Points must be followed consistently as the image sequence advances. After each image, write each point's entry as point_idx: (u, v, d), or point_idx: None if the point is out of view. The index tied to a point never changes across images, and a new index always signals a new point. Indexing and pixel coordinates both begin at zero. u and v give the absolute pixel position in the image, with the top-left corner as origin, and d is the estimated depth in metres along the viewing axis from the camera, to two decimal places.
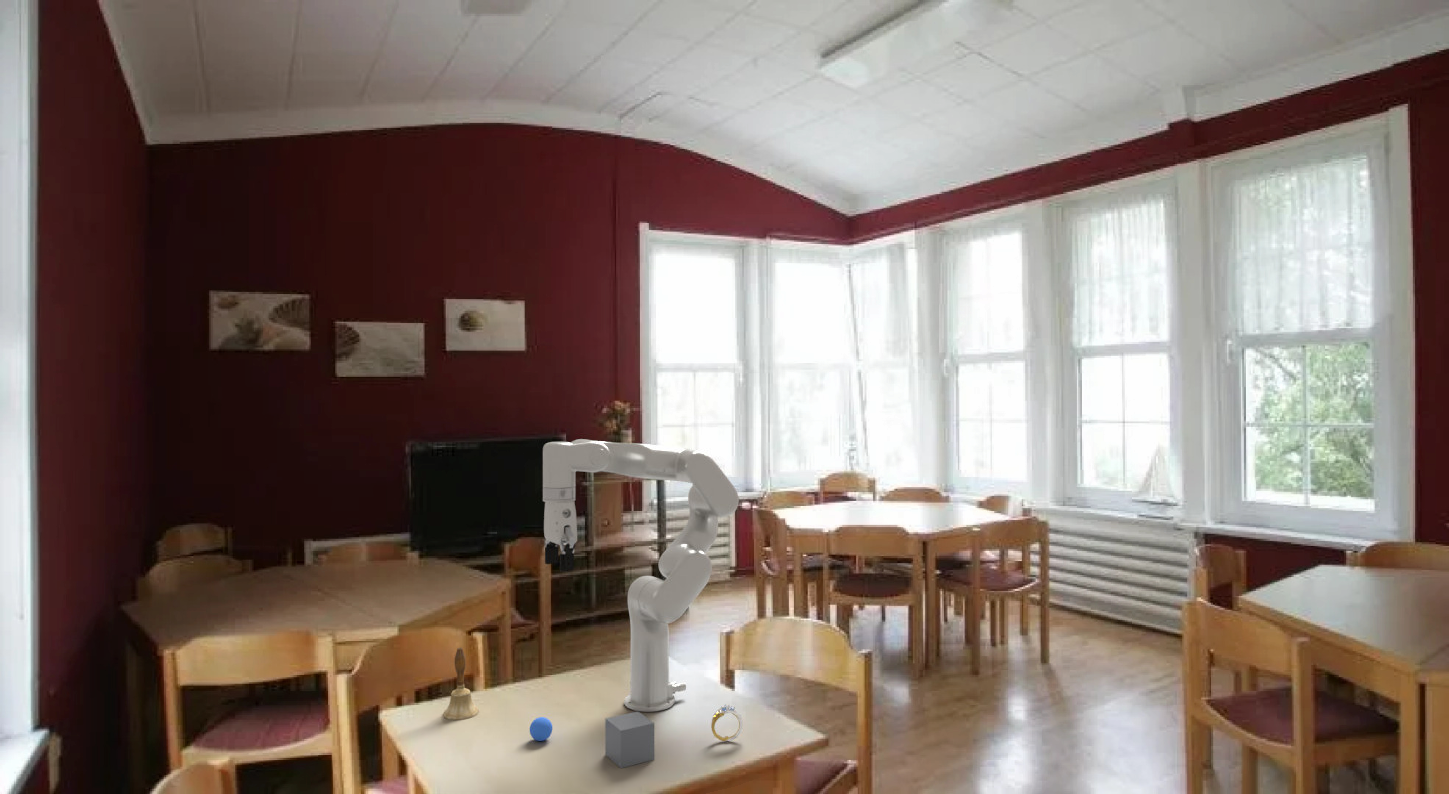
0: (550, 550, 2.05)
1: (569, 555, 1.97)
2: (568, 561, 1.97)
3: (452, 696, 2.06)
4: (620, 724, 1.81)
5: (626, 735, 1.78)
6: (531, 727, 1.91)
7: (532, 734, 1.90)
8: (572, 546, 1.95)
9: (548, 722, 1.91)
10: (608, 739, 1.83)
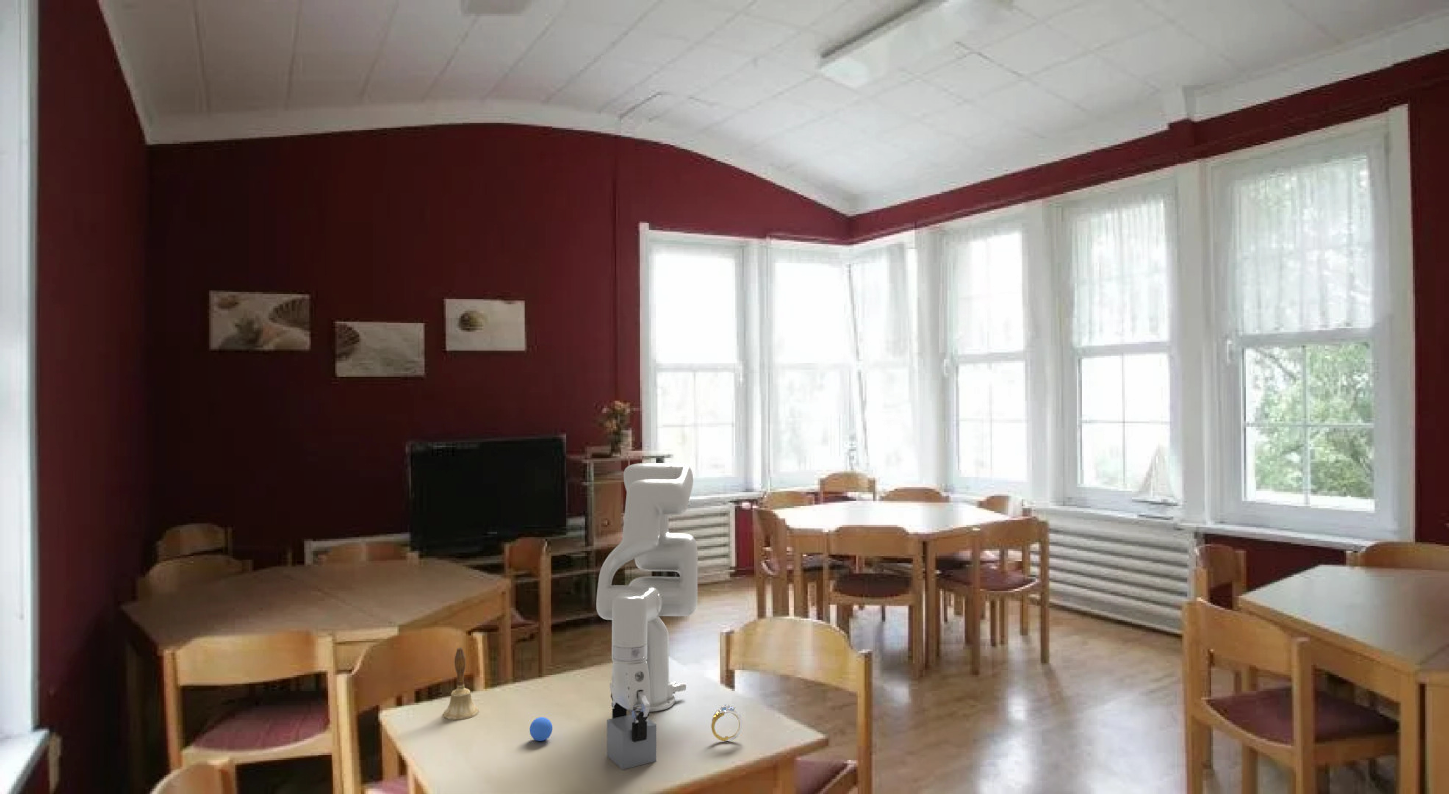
0: (618, 712, 1.86)
1: (642, 724, 1.78)
2: (641, 730, 1.77)
3: (452, 696, 2.06)
4: (622, 726, 1.80)
5: (628, 737, 1.78)
6: (531, 727, 1.91)
7: (532, 734, 1.90)
8: (646, 715, 1.76)
9: (548, 722, 1.91)
10: (610, 740, 1.82)
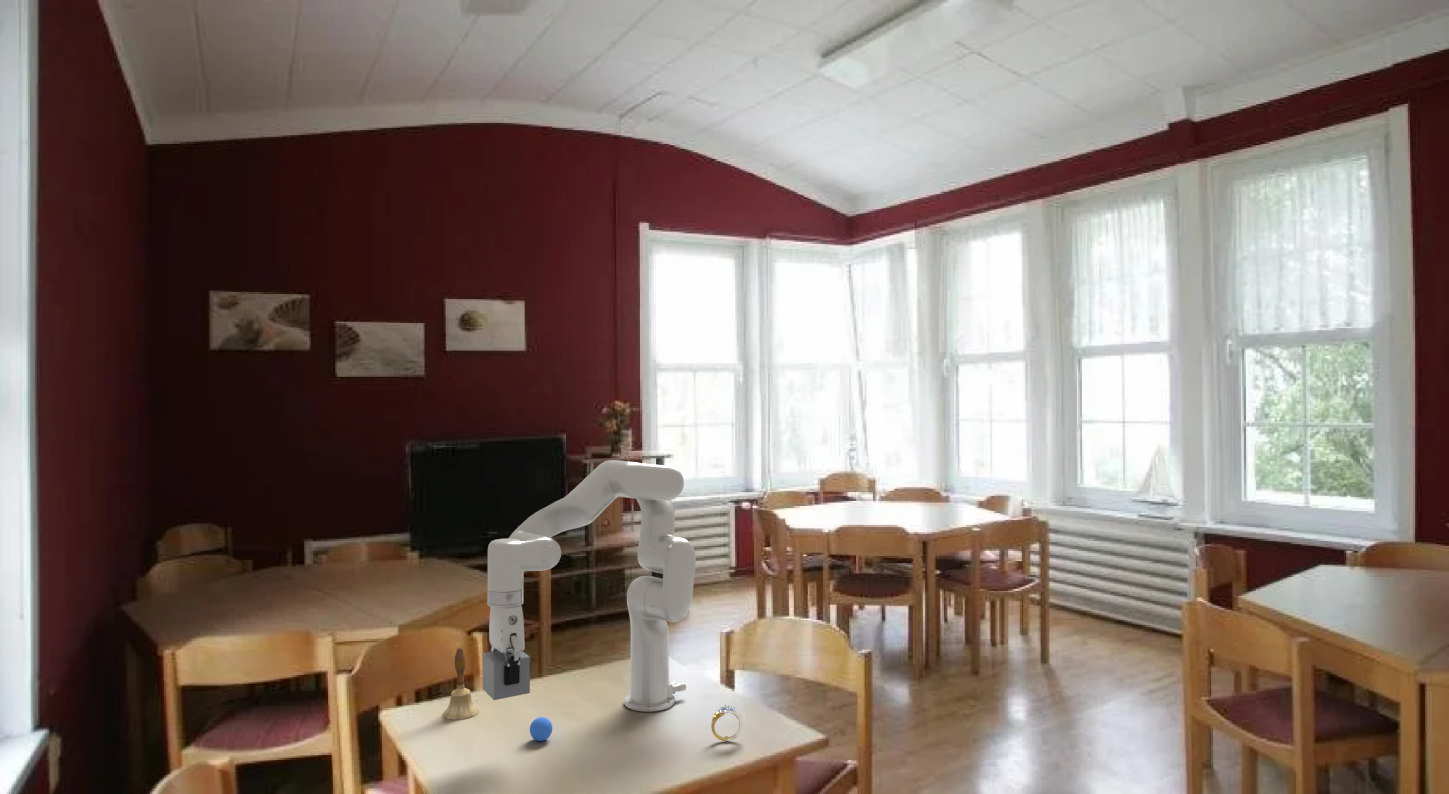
0: None
1: (514, 667, 1.80)
2: (513, 674, 1.80)
3: (452, 696, 2.06)
4: (495, 658, 1.83)
5: (500, 668, 1.80)
6: (531, 727, 1.91)
7: (532, 734, 1.90)
8: (517, 659, 1.79)
9: (548, 722, 1.91)
10: (484, 673, 1.85)
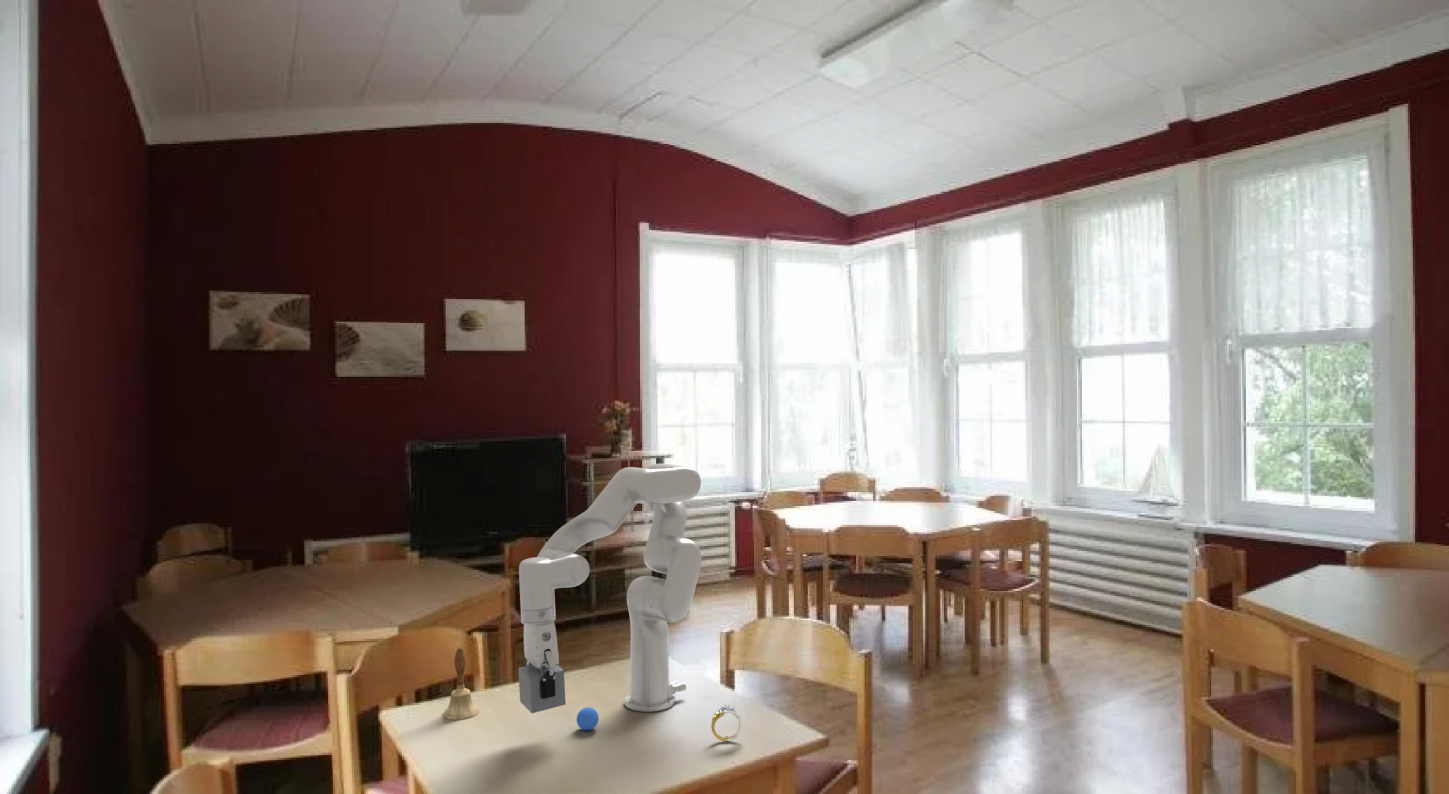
0: None
1: (550, 682, 1.88)
2: (549, 688, 1.88)
3: (452, 696, 2.06)
4: (531, 672, 1.90)
5: (536, 683, 1.87)
6: None
7: None
8: (552, 674, 1.86)
9: (581, 719, 1.96)
10: (521, 687, 1.92)
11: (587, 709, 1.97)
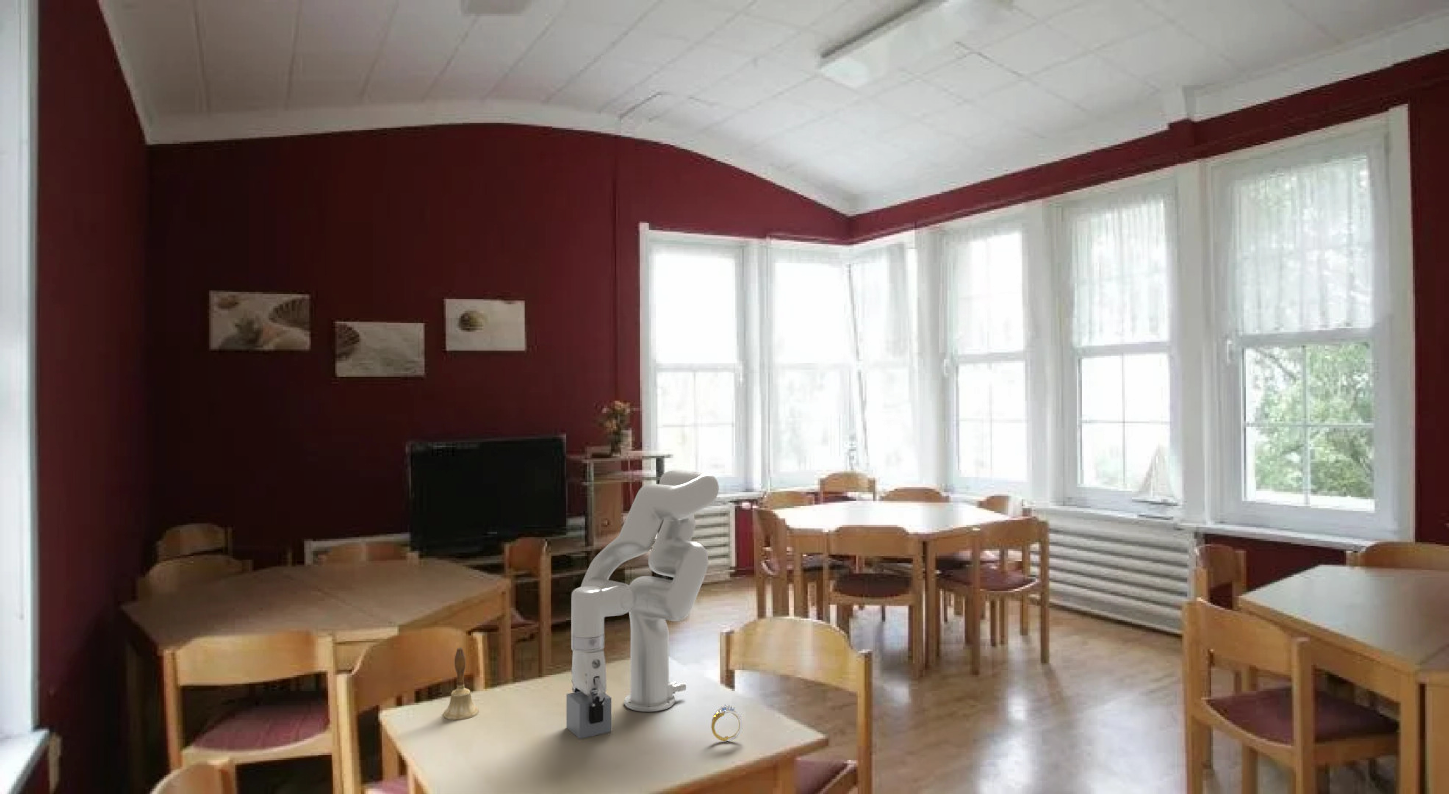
0: None
1: (599, 707, 1.93)
2: (598, 713, 1.93)
3: (452, 696, 2.06)
4: (579, 699, 1.96)
5: (585, 709, 1.93)
6: None
7: None
8: (602, 699, 1.91)
9: None
10: (569, 713, 1.98)
11: None
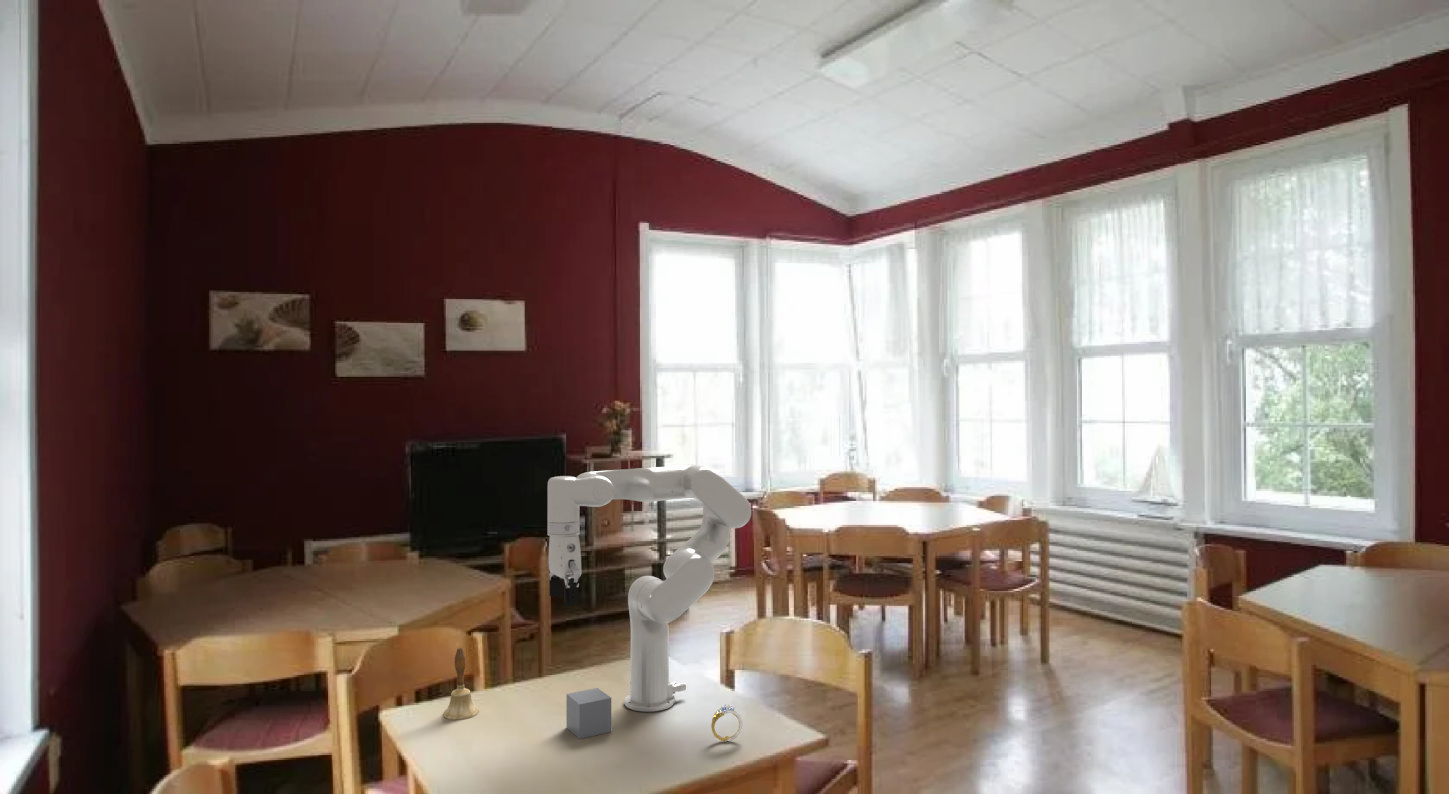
0: (554, 583, 2.08)
1: (573, 589, 2.00)
2: (572, 595, 2.00)
3: (452, 696, 2.06)
4: (579, 699, 1.96)
5: (585, 709, 1.93)
6: None
7: None
8: (576, 580, 1.98)
9: None
10: (569, 713, 1.98)
11: None
